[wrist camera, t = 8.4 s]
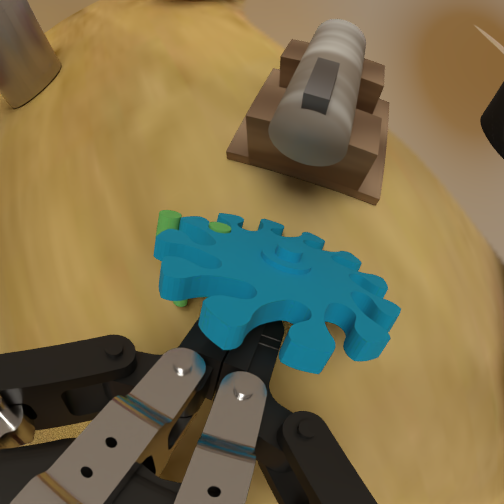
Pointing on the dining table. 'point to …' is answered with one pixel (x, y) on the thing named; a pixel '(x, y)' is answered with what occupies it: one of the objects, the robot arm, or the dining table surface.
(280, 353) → the gear
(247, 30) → the dining table surface
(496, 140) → the travel mug
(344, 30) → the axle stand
